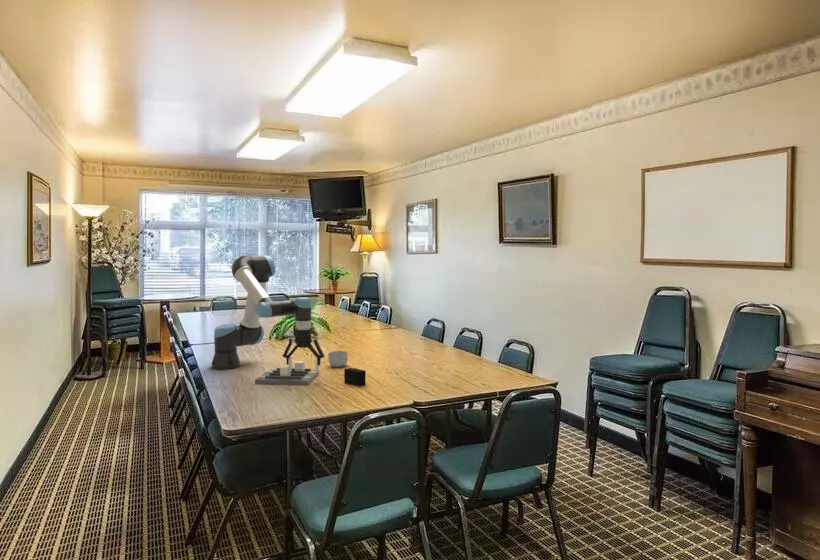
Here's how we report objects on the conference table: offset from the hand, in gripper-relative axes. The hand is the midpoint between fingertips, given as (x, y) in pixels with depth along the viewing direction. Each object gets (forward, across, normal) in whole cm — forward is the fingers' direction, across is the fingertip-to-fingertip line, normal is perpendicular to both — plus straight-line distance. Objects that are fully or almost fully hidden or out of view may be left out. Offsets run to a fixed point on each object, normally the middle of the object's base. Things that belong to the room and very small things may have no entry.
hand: (303, 371), depth 250 cm
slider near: (+3, -9, 0) cm, 10 cm away
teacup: (+5, +10, +37) cm, 38 cm away
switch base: (+5, -9, +5) cm, 12 cm away
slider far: (+3, -5, +11) cm, 12 cm away
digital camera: (+5, +26, -2) cm, 27 cm away
